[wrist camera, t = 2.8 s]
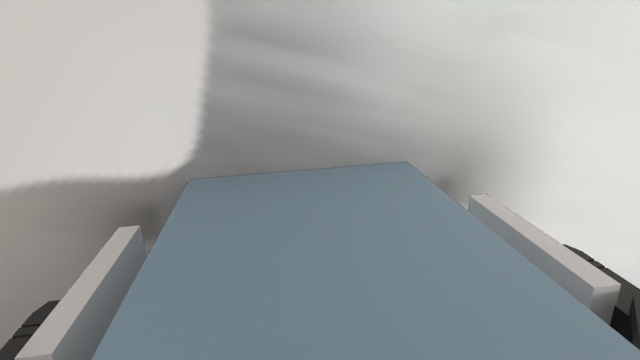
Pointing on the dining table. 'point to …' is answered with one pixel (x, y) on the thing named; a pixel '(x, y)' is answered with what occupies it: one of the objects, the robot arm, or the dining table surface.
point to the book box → (344, 278)
